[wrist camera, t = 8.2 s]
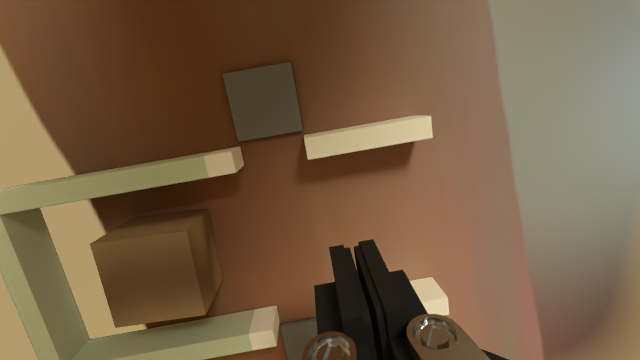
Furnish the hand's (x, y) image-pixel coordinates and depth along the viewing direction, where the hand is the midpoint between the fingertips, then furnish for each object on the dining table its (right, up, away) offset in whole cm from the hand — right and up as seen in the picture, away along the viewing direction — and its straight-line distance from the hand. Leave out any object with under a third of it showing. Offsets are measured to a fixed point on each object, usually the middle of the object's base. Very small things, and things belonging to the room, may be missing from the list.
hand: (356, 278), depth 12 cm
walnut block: (-11, -1, +9) cm, 14 cm away
